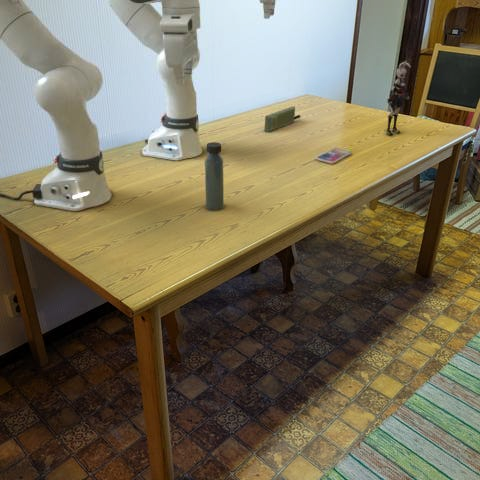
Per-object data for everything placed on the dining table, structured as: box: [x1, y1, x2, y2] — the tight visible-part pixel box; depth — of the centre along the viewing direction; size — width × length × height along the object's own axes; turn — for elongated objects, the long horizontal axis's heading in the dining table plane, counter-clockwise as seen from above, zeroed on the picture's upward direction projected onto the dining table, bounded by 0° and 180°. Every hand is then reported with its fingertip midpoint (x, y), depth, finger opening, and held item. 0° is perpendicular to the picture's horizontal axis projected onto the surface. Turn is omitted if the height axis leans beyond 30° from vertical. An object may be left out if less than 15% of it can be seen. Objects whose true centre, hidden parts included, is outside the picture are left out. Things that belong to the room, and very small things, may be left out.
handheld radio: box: [264, 105, 301, 133], centre depth 221 cm, size 7×3×25 cm
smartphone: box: [315, 147, 352, 165], centre depth 188 cm, size 7×1×15 cm
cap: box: [205, 141, 222, 154], centre depth 142 cm, size 4×4×2 cm
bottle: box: [204, 153, 225, 211], centre depth 146 cm, size 5×5×19 cm
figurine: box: [385, 60, 412, 137], centre depth 207 cm, size 15×6×30 cm, turn 132°
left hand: (184, 80), depth 126 cm, fingers open, 8 cm apart
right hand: (268, 16), depth 163 cm, fingers open, 8 cm apart
